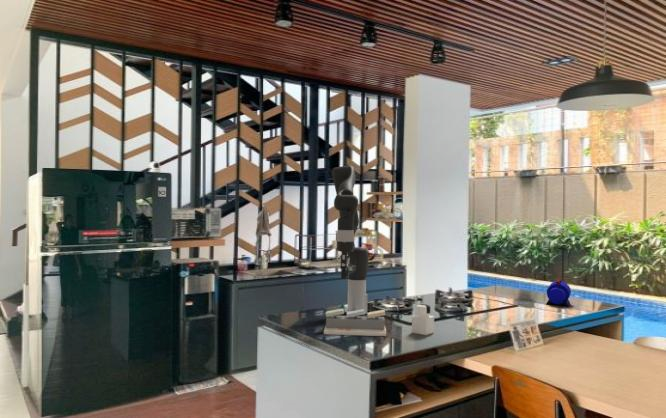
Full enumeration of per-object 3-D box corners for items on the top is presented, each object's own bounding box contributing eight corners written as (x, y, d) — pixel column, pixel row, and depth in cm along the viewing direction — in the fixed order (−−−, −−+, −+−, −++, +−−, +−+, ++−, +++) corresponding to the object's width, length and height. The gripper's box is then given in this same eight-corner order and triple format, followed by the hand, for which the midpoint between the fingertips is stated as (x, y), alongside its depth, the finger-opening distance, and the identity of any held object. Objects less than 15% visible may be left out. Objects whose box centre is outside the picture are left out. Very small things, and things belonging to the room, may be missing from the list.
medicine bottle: (419, 330, 226) (420, 302, 226) (434, 332, 221) (434, 304, 221) (411, 332, 220) (411, 304, 220) (426, 335, 216) (426, 307, 216)
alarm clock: (571, 304, 298) (571, 278, 298) (568, 307, 287) (568, 280, 287) (548, 302, 304) (549, 276, 304) (544, 305, 294) (545, 278, 294)
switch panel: (385, 329, 226) (385, 316, 226) (386, 336, 213) (386, 322, 213) (326, 327, 228) (326, 314, 228) (323, 334, 215) (324, 321, 215)
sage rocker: (344, 313, 226) (343, 308, 226) (343, 316, 221) (342, 310, 221) (327, 316, 226) (326, 311, 226) (326, 319, 221) (325, 313, 221)
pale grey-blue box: (364, 314, 225) (363, 308, 225) (364, 316, 220) (363, 311, 220) (347, 317, 225) (346, 312, 226) (347, 319, 220) (346, 314, 221)
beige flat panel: (385, 314, 224) (384, 309, 224) (386, 317, 219) (384, 311, 219) (368, 318, 225) (367, 312, 225) (368, 320, 220) (367, 314, 220)
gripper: (338, 239, 232) (337, 275, 232) (335, 241, 218) (334, 279, 218) (354, 239, 232) (354, 275, 231) (352, 241, 217) (352, 279, 217)
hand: (344, 277), depth 225 cm, fingers open, 8 cm apart
